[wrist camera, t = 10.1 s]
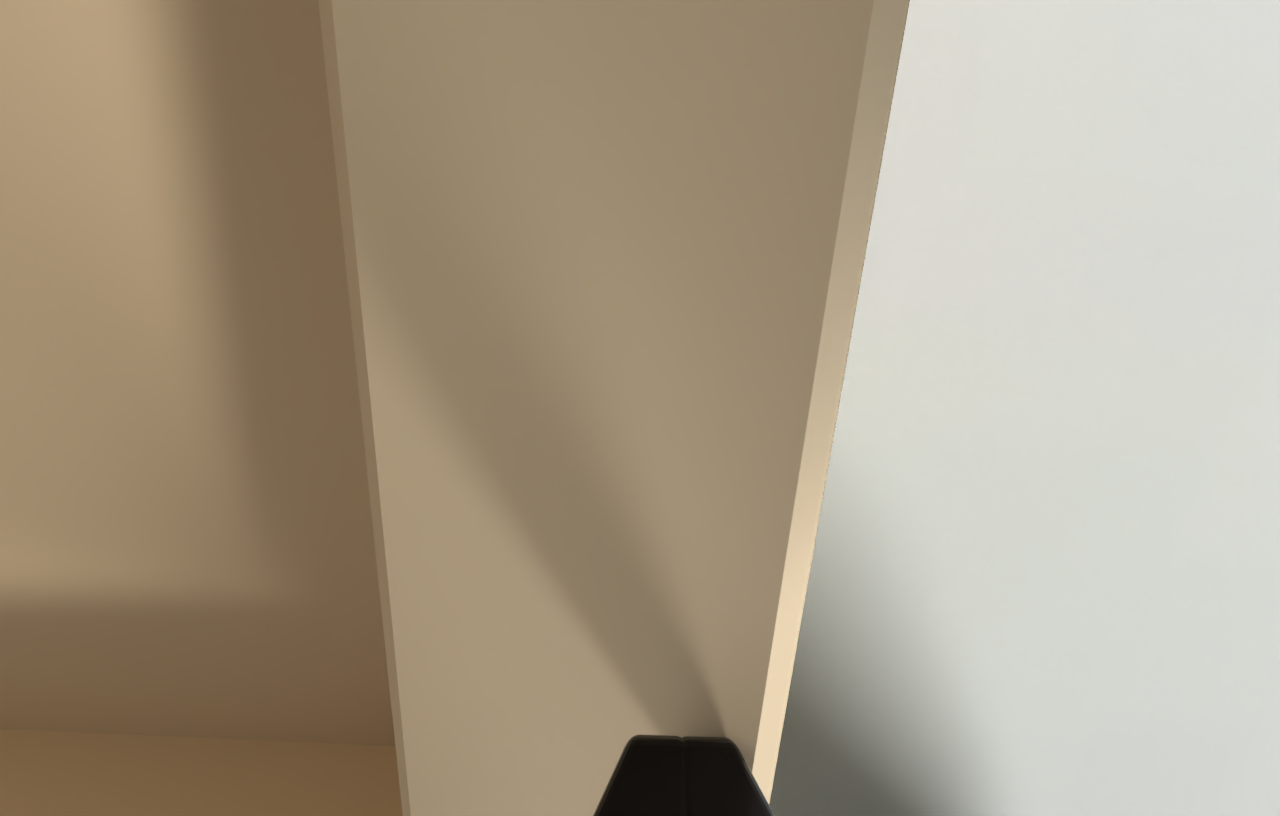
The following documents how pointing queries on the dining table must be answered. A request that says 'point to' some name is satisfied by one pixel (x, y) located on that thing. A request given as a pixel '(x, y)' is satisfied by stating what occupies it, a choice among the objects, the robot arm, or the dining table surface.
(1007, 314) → the dining table surface
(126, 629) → the carton
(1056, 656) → the dining table surface
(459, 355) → the flap
